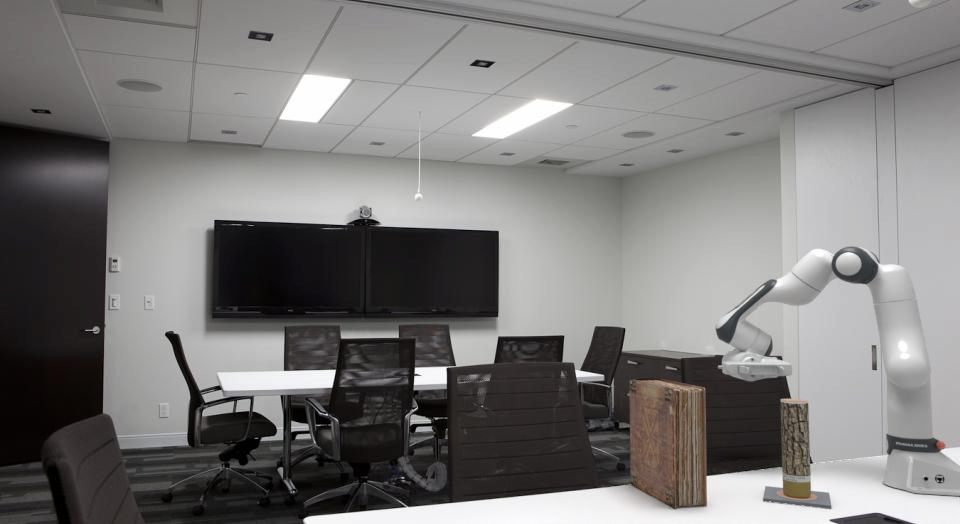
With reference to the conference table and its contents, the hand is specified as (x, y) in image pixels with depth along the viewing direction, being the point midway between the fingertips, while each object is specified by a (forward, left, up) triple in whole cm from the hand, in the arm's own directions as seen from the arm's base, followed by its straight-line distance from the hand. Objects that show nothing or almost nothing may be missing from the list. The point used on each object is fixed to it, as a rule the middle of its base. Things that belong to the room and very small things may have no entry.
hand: (765, 370), depth 208 cm
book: (+24, +30, -32) cm, 50 cm away
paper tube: (-8, +19, -31) cm, 37 cm away
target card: (-8, +18, -32) cm, 38 cm away
